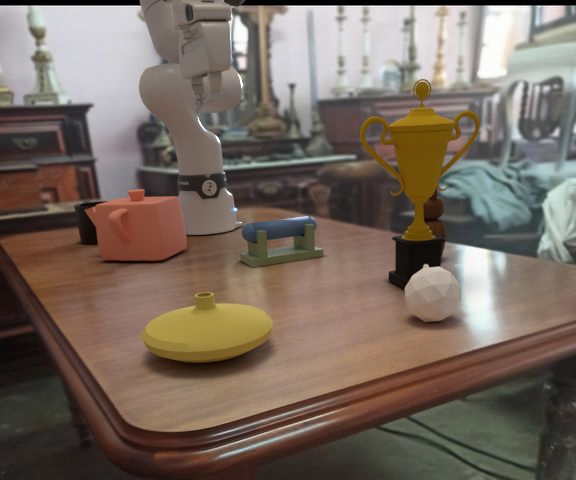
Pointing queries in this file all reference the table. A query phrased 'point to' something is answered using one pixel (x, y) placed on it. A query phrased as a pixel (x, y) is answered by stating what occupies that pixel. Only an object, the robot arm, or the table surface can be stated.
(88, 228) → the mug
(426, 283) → the ornament
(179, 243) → the teapot
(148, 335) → the vase
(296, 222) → the handle
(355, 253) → the table surface
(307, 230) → the holder
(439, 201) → the wooden figurine
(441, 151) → the trophy
